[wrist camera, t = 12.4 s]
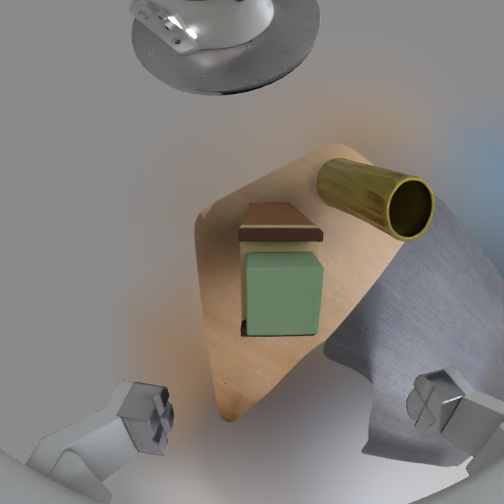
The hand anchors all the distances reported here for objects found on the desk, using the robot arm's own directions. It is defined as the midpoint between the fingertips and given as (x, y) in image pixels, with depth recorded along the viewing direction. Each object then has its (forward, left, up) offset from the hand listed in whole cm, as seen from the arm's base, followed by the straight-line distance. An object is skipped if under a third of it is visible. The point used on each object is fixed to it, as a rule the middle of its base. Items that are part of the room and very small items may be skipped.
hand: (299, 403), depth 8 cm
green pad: (0, 0, -10) cm, 10 cm away
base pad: (0, 0, -27) cm, 27 cm away
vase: (+3, +10, -27) cm, 29 cm away
